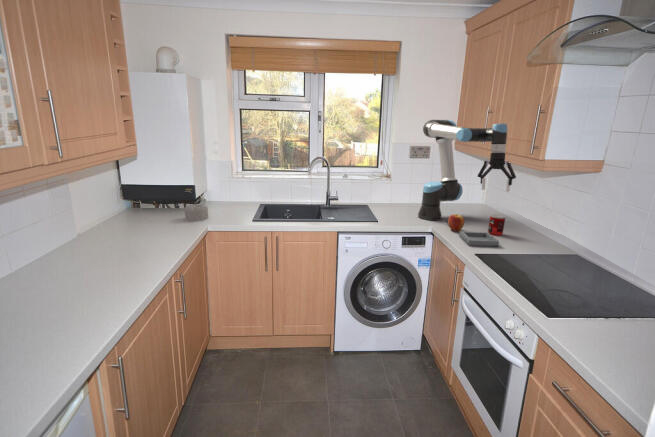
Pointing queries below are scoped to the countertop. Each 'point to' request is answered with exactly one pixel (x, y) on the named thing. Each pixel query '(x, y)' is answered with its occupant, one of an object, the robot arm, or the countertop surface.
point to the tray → (478, 239)
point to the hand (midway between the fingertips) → (495, 190)
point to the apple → (456, 222)
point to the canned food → (496, 224)
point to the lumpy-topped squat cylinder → (196, 213)
